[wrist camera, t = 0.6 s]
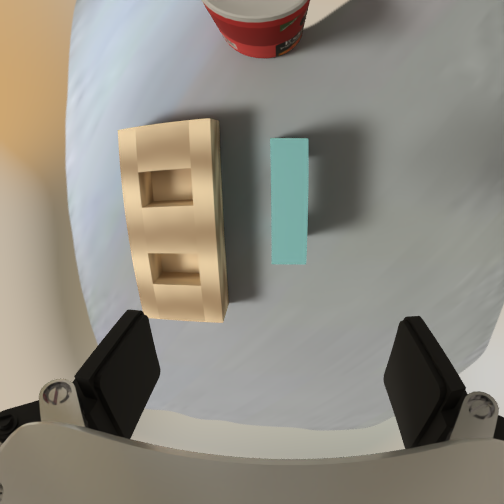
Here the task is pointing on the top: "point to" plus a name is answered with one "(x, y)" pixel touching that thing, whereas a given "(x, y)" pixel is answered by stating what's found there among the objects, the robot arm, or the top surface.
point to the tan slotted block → (176, 218)
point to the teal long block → (289, 199)
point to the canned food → (259, 24)
